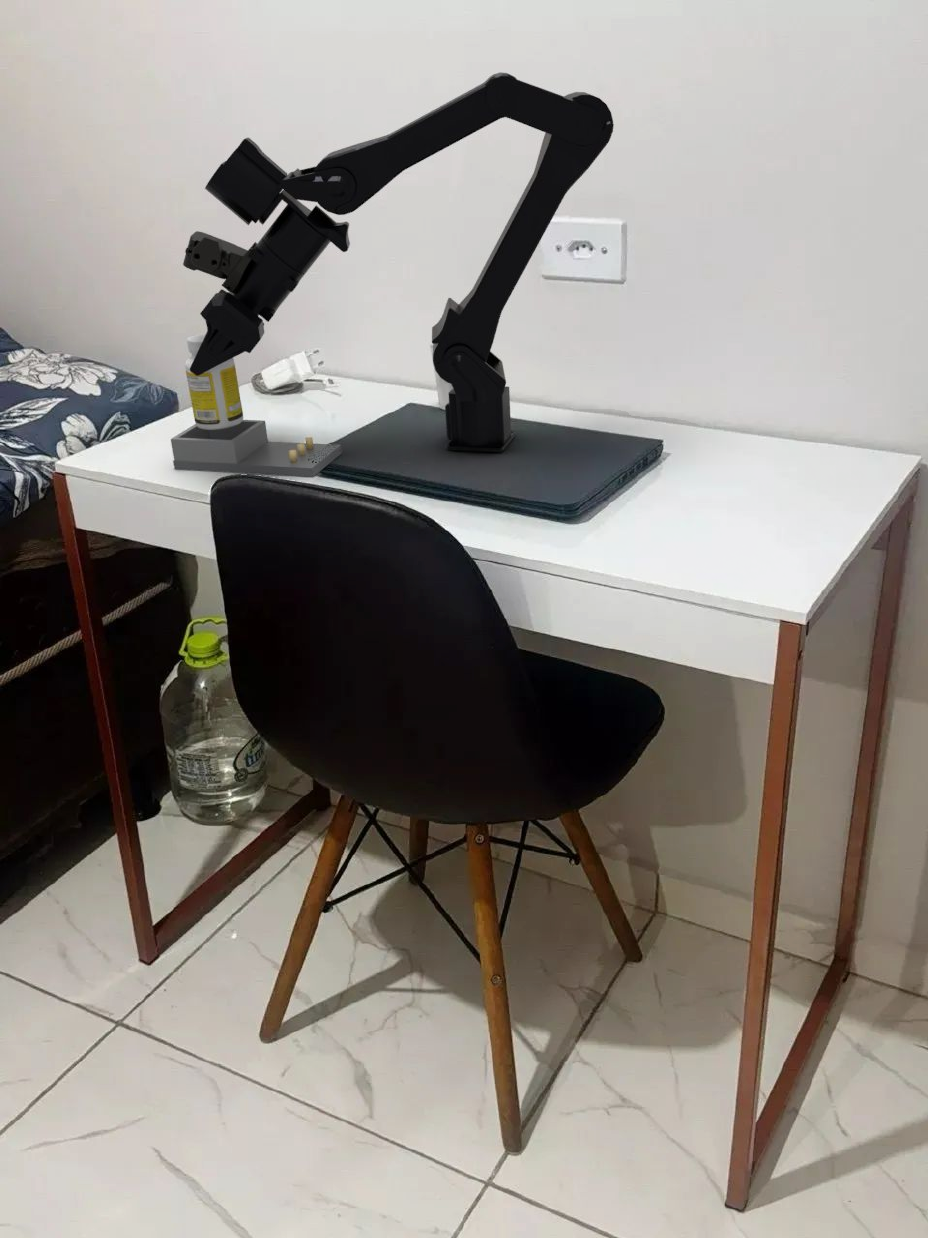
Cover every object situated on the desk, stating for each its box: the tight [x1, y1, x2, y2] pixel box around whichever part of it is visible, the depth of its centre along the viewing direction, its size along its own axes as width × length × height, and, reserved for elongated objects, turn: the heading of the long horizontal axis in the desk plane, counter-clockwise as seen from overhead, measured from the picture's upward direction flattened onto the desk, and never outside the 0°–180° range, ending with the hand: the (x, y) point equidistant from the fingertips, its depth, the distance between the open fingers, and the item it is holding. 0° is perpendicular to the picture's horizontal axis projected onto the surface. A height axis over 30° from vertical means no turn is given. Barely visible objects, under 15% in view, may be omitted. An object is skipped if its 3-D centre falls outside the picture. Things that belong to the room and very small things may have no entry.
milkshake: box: [429, 340, 453, 411], centre depth 146 cm, size 4×5×10 cm
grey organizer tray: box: [170, 419, 343, 478], centre depth 133 cm, size 17×8×4 cm, turn 73°
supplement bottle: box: [184, 332, 244, 430], centre depth 131 cm, size 5×5×10 cm
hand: (197, 366), depth 130 cm, fingers closed on supplement bottle, 5 cm apart
